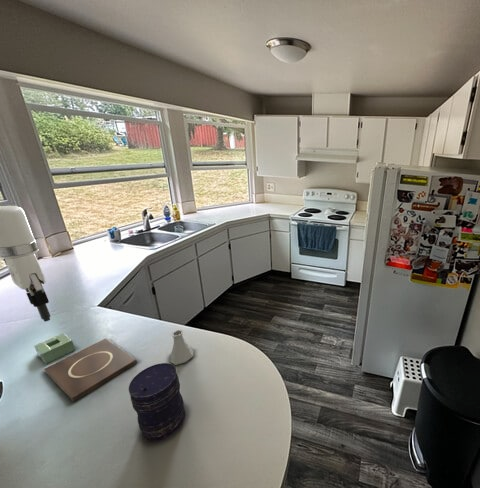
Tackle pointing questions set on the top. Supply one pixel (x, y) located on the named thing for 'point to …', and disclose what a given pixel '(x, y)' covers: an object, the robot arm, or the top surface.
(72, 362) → the board
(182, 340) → the flask
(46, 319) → the marker
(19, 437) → the top surface
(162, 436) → the storage jar
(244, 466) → the top surface
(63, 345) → the pen stand
